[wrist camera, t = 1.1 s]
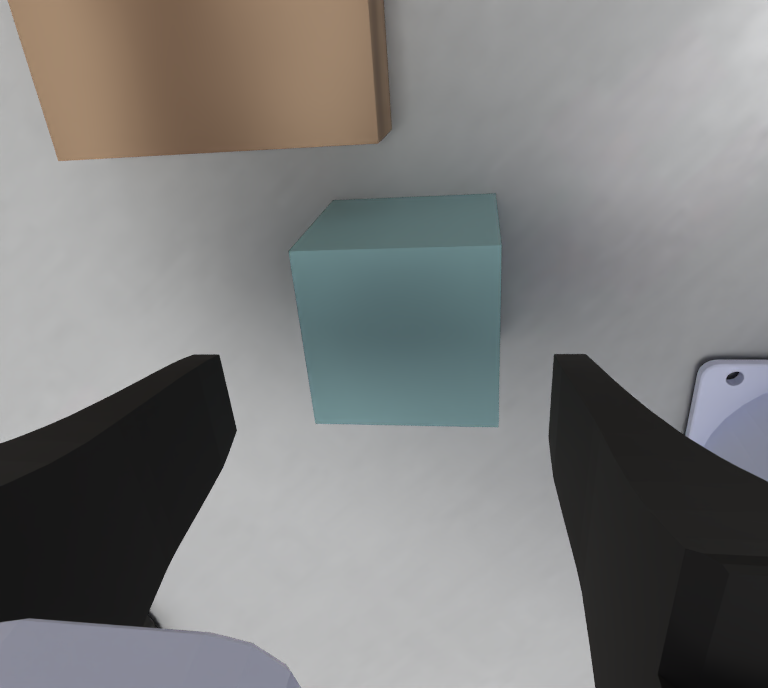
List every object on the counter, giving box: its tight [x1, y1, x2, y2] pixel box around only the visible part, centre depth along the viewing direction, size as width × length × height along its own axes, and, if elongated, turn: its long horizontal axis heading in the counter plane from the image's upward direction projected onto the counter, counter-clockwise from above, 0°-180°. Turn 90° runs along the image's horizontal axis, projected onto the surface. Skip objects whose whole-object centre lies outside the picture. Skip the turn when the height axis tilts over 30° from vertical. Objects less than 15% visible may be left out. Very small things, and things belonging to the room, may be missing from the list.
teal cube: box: [289, 193, 502, 427], centre depth 17 cm, size 5×5×5 cm
